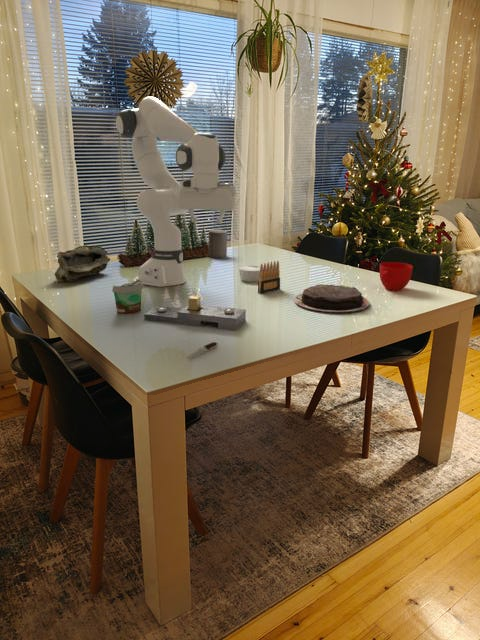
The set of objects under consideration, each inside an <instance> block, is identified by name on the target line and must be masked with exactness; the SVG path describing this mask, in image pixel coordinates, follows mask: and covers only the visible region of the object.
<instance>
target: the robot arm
mask: <svg viewBox="0 0 480 640" xmlns="http://www.w3.org/2000/svg"><path fill="white" fill-rule="evenodd" d="M115 126H116V130H117V133H118V134H119V135H120V136H121V137H122V138H125V139H132V138H134V139H133V140H132V142H131V143H130V144H131V145H130V147H131V153H132V156H133V160H134V162H135V165H136V167H137V170H138V173H139V174H140V178H141V179H142V181H143V183H144V184H145V185H147V186H148V187H150V189H145V190H142V191H140V192H139V194H138V195H137V199H136V206H137V210H138V211H139V213H141V215H142V216H144V217H145V218H146V219H147V220H148V221H149V223H150V225H151V228H152V231H153V236H154V237H153V239H154V240H153V241H154V248H153V249H151V250H150V251H149V255H151V257H150V258H149V259H148V260H147V261H145V262H144V263H143V264H142V265H140V266H139V269H138V273H137V276H136V277H134V278H133V279H132V280H133V281H132V283H134V282H136V279H138V280H141V282H142V284H143V285H147V286H151V287H152V286H153V287H158V288H160V287H161V288H164V287H169V286H171V287H172V286H177V285H182V284H184V283H186V282H187V278H186V276H185V272H184V265H183V262H184V259H183V258H184V253H183V248H182V231H181V229H180V228H179V227H178V226H177V225H176V224H173V222H172V220H171V216H176V215H177V216H178V215H184V214H186V213H188V214H189V215H190V217H191V223H198V216H195V213H194V212H195V210H199V211H200V210H201V211H219V215H220V216H219V217H217V218H216V224H219V225H220V224H222V223H223V218H224V217H225V214H226V212H231V211H234V210H235V208H236V199H235V194H236V187H235V186H234V185H233V184H232V183H230V182H227V183H225V182H220V170H221V169H223V167H224V165H225V164H226V157H227V155H226V152H225V150H224V148H223V146H221V144H219V141H218V138H217V135H215V134H214V133H210V132H205V131H203V132H202V131H199V130H198V129H197V128H196V127H195V126H193V125H192V124H190V123H189V122H188V121H187V122H186V121H185V120H184V119H182V118H181V117H180V116H178V115H177V113H175V112H173V111H172V110H171V109H170V107H168V106H167V105H166V104H165V103H164V102H163V101H162V100H159V98H157V97H155V96H146V97H144V98H142V100H141V101H140V102H139V104H138V107H137V108H129V109H123V110H121V111H119V112H118V113H117V114H116V117H115ZM157 140H158V141H161V140H162V141H167V142H176V143H181V144H180V145H179V146H178V148H177V150H176V153H175V162H176V165H177V166H178V168H179V169H180V170H182V171H184V172H193V177H189V178H188V179H184V180H180V182H179V181H177V179H175V177H174V176H173V175H172V174H171V172H170V171H169V170H168V167H167V165H166V163H165V161H164V159H163V157H162V154H161V151H160V150H159V148H158V146H157Z"/></svg>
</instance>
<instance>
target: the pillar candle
mask: <svg viewBox="0 0 480 640" xmlns="http://www.w3.org/2000/svg"><path fill="white" fill-rule="evenodd" d="M227 248H228V230H225V229H224V230H223V229H209V230H208V258H210V259H225V258H227V256H228V255H227V254H228V252H227V251H228V249H227Z"/></svg>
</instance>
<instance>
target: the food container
mask: <svg viewBox="0 0 480 640" xmlns="http://www.w3.org/2000/svg"><path fill="white" fill-rule="evenodd" d="M143 289H144V284H142V282H141V280H138V279H136V282H130V283H125V284H123V285H119V286H118V285H112V290H111V291H112V293H113V295H114V301H115V302H114V303H115V307H116V314H118V315H132V314H137V313H140V312H141V310H142V290H143Z"/></svg>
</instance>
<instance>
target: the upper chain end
mask: <svg viewBox="0 0 480 640" xmlns="http://www.w3.org/2000/svg"><path fill="white" fill-rule="evenodd" d="M181 308H182V309H181V310H180V311H178V312H177V318H182V319H191V320H200V321H207V322H211V323H217V324H218V325H217V327H218V330H219V329H220V330H228V331H236V332H237V331H238V330H239V329H240V327H241V326H242V325H244V324H245V322H247V321H246V317H247V316H246V315H247V313H246V312H247V311H246V309H244V308H233V307H225V306H215V305H206V304H201V310H200V311H199V312H197V311H189V304H187V305H186V306H184V307H181Z"/></svg>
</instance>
